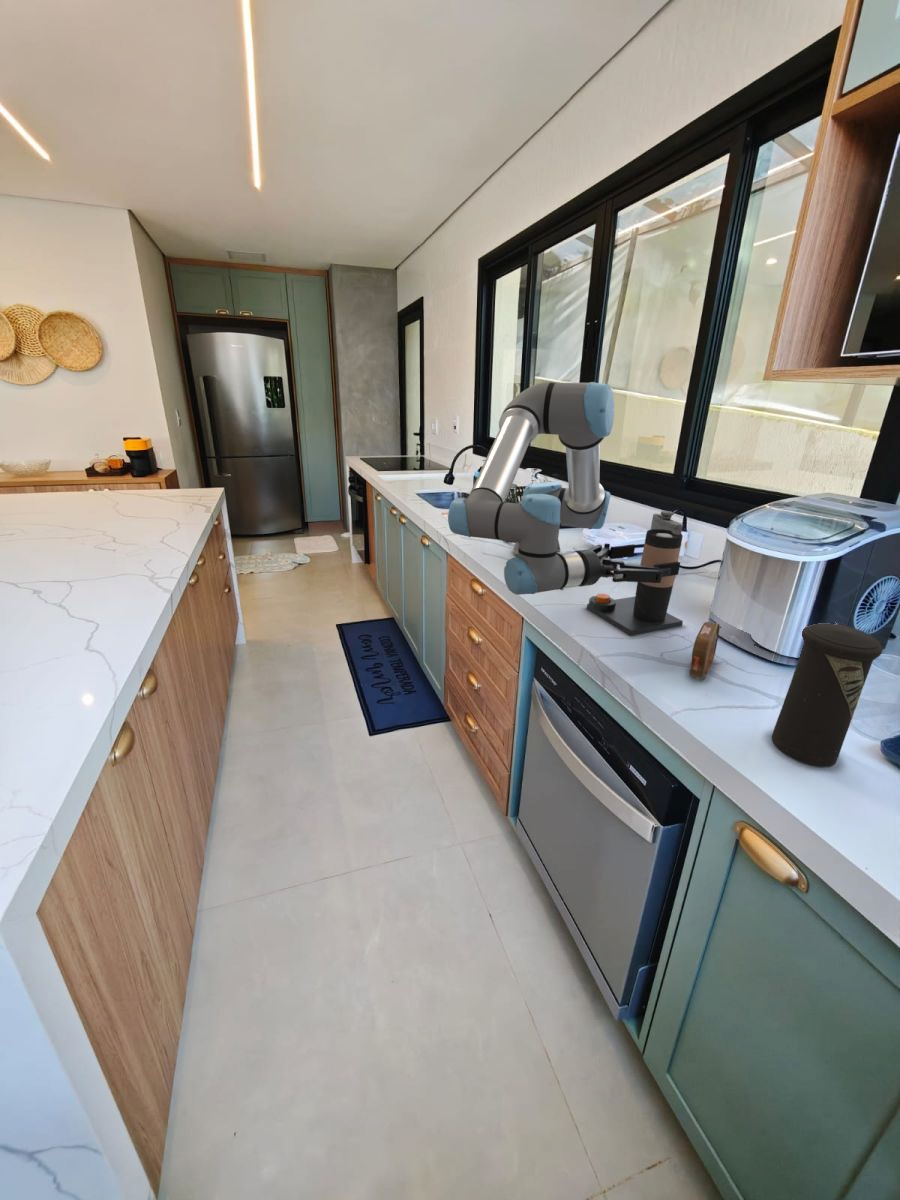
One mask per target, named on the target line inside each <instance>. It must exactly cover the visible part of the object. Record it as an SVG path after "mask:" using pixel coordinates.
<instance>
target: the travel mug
mask: <svg viewBox="0 0 900 1200" xmlns="http://www.w3.org/2000/svg"><path fill="white" fill-rule="evenodd" d="M682 543H683V533H681V534H679V535H676V534H674V533H673V532H672V531H670V530H664V529H652V530H651V529H648V530H647V531H646V533H645V539H644V544H643V550H642V555H641V561H640V565H643V566H652V567H654V565H656V564H664V563H671V562H679V558H680V553H681V547H682ZM675 578H676V575H673V576H666V577H662V579H661V583H648V582H636V589H635V596H634V597H635V603H634V611H633V614H634V616H635V617H636V618H638V619H641V620H644V621H648V622H661V621H663V620H664V619H665V617H666V613H668V609H669V605H670V600H671V596H672V593H673V589H674V583H675Z"/></svg>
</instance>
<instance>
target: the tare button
mask: <svg viewBox="0 0 900 1200" xmlns="http://www.w3.org/2000/svg"><path fill="white" fill-rule="evenodd" d="M595 596H596V602H599V603H605V604H606V603H609V601H610V598H611V596H610V595H609V594H607V593H597V594H596V595H595Z"/></svg>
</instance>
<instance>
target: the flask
mask: <svg viewBox="0 0 900 1200" xmlns="http://www.w3.org/2000/svg"><path fill="white" fill-rule="evenodd" d="M673 513H674V512H673V511H671V510H661V511H660V513H652V519H651V524H650V530H652V529H664V530H670V531H672V532H673V533H674V534H676V535H679V534H682V532H683V526H684V524H683V523H682V522H679V521H676V520H673V519H672V516H673Z"/></svg>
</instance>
